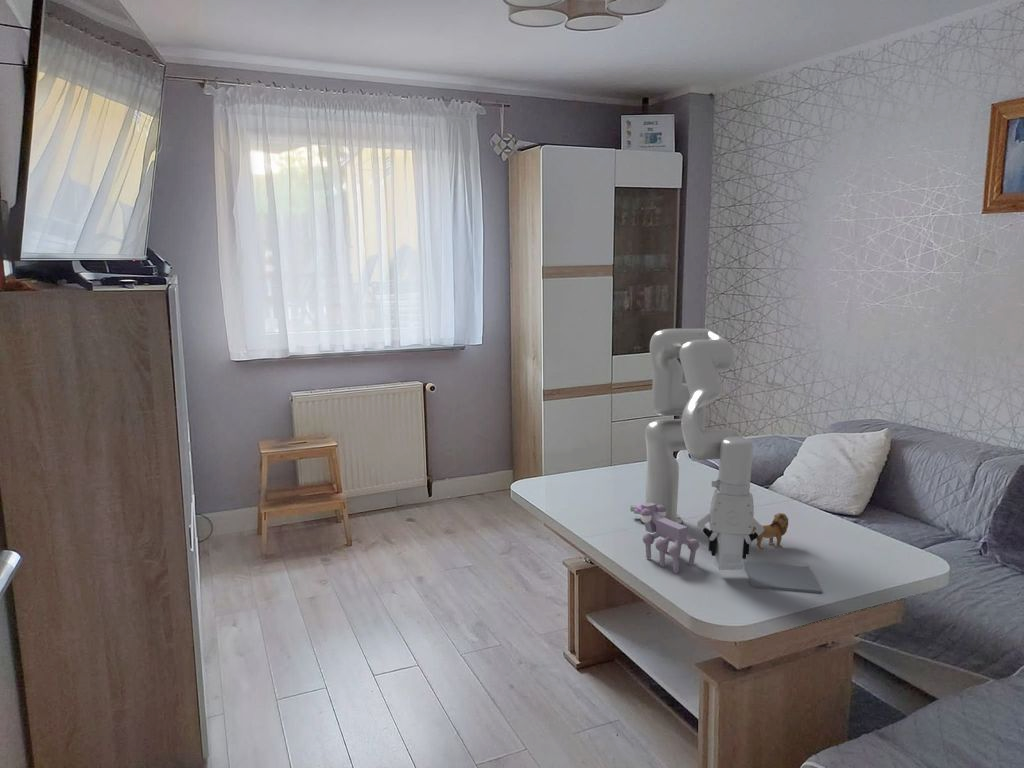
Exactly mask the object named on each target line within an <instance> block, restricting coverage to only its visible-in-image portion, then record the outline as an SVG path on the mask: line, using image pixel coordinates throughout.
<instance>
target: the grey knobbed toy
mask: <svg viewBox="0 0 1024 768" xmlns="http://www.w3.org/2000/svg"><path fill="white" fill-rule="evenodd" d="M636 506H637V507H636V508H637V510H638V511H639V512H640V514H641V516H640V514H639V518H640V517H641V520H642V521H643V522H644V523H645V524H644V523H643V522H642V521H641V520H640V521H641V522H642V523H643V524H644V528H645V531H646V532H648V533H645V534H643V536H642V542H643V543H644V544H645V559H646V558H647V559H649V560H651V559H652V549H651V548H652V545H653V544H654V542H655V540H656V539H657V538H659V537H661V538H663V539H658V540H657V541H656V542H655V545H654V546H655V549H656V550H657V551H658V553H659V566H660V567H661V566H664V567H666V553H665V552H667V553H668V554H669V556H671V557H672V572H673V573H674V574H677V573H679V572H680V571H679V559H680V557H681V551H682V545H686V546H687V548H688V550H690V551H689V559H688V565H689V566H691V565H693V566H694V565H695V559H696V558H695V557H696V553H697V550H699V547H700V543H699V541H698V540H697V539H696V538H691V539H688V526H685V525H683V524H682V523H681V524H679V523H676V522H674V521H671V520H669V519H667V518H663V517H665V515H666V508H665V507H664V506H663V505H657V506H656V504H653V503H646V504H644V503H642V504H640V505H636ZM670 542H673V545H671V546H670V547H669V543H670ZM650 558H651V559H650ZM678 558H679V559H678ZM647 559H646V560H647Z"/></svg>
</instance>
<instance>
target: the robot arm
mask: <svg viewBox="0 0 1024 768" xmlns="http://www.w3.org/2000/svg"><path fill="white" fill-rule="evenodd" d="M734 353H735V352H734V349H733V347H732V345H731V344H730V342H729V341H728V340H727V339H726V338H724V337H723V336H721V335H720V334H718V333H716V332H714V331H713V330H711V329H708V328H700V327H698V328H665V329H659V330H657V331H656V332H654V333H653V335H652V336H651V339H650V342H649V355H650V359H651V364H652V369H653V370H652V371H653V372H652V387H651V388H652V390H651V406H652V410H653V413H655V414H656V415H658V416H663V417H674V416H677V417H678V416H681V418H668V419H666V418H665V419H656V420H653V421H651V422H649V423H648V424H647V426H646V427H645V430H644V438H645V447H646V483H645V484H646V485H645V486H646V488H645V502H644V503H643V504H646V503H653V504H656V506H657V505H663V506H664V507H665V508H666V515H665V517H663V518H667V519H669V520H671V521H674V522H676V523H679V524H681V525H682V522H683V519H682V518H683V517H682V516H680V515H679V514H678V498H679V496H678V495H679V482H680V481H679V478H680V477H679V476H680V466H679V462H678V461H677V459H676V458H675V456H674V455H673V452H679V451H682V452H683V451H687V453H688V455H689V456H690V457H691V458H692V459H694V460H697V461H708V460H709V461H710V460H719V463H718V477H717V479H716V480H715V481H714V480H712V481H711V487H712V488H716V489H715V490H714V491H713V496H712V499H711V503H710V509H709V513H707V515H705V516H704V517H702V518H701V519H700V520H698V521H697V524H696V525H697V527H699V529H700V530H701V531H702V533H703V534H704V535H705V536H706V537H707V538H708V539H709V540H708V552H711V553H710V554H711V556H712V557H714V556H715V549H716V540H715V537H716V536H717V534H718V533H722V526H723V533H726V534H735V535H743V536H744V547H743V560H746V559H747V555H750V554H749V553H750V547H749V546H751V544H752V542H753V541H755V540H757V539H756V538H757V537H758V536H759V535H760V534H761V533H762V532H764V527H763V526H764V525H763V526H762V524H761V523H760V522H759V521H758V520H756V518H754V517H755V516H754V513H755V510H754V508H755V507H754V504H755V503H754V497H753V494H752V493H751V491H750V489H751V477H752V475H751V474H752V466H753V465H752V463H753V453H754V452H753V450H754V445H753V442H752V440H750V439H748V438H746V437H744V436H742V434H741V433H740V432H738V430H736V429H733V428H724V429H722V428H721V429H719V428H718V429H705V428H706V427H705V426H706V414H707V413H706V412H707V405H709V404H710V403H712V402H714V401H715V400H717V399H718V398H719V397H721V396H722V394H723V390H724V389H723V386H722V383H721V379H720V376H719V373H718V371H725V370H728V369H731V367H732V366H733V365H734V361H735V354H734ZM679 360H680V361H679ZM683 375H684V378H685V383H683ZM637 506H638V505H633V504H630V509H629V510H630V511H629V512H633V514H635V515H639V520H640V522H642V523H643V524H644V522H643V521H642V520H641V517H640V516H641V514H640V512H639V511H638V510H637V508H636V507H637ZM708 523H709V527H710V529H709V528H708V526H706V524H708ZM753 526H755V527H756V530H755V531H753Z"/></svg>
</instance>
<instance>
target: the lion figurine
mask: <svg viewBox="0 0 1024 768" xmlns="http://www.w3.org/2000/svg"><path fill="white" fill-rule="evenodd" d="M761 525H762V524H761ZM762 526H763V527H764V532H762V533H761V534H760V535H759V536H758V537H757V538H756V539H755V540H756V546H757V548H758V550H759V551H762V552H764V551H765V548H764V547H762V546H761V544H762V542H763V540H764V539H763V538H765V539H769V540H768V545H771V546H772V545H773V546H774V544H775V542H774V538H776V547H777V548H779V549H782V545H781V541H782V537H783V536H784V535H786V533H787V532H788V527H789V517H788V516H787V514H785V513H783V512H778V513H776V514H774V518H773V520H772V522H771V524H766V525H762ZM755 530H756V527H755V526H754V525H753V531H755ZM750 546H751V545H749V548H751V547H750Z"/></svg>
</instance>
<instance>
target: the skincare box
mask: <svg viewBox="0 0 1024 768" xmlns="http://www.w3.org/2000/svg"><path fill="white" fill-rule="evenodd" d="M715 540H716V549H715V556H713V564H714V566H715V567H716V568H717V569H718V570H719V571H729V570H730V571H731V570H742V569H743V562H744V561H743V560H744V558H743V547H744V536H743V535H735V534H726V533H723V526H722V533H718V534H717V536H716V537H715Z"/></svg>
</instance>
